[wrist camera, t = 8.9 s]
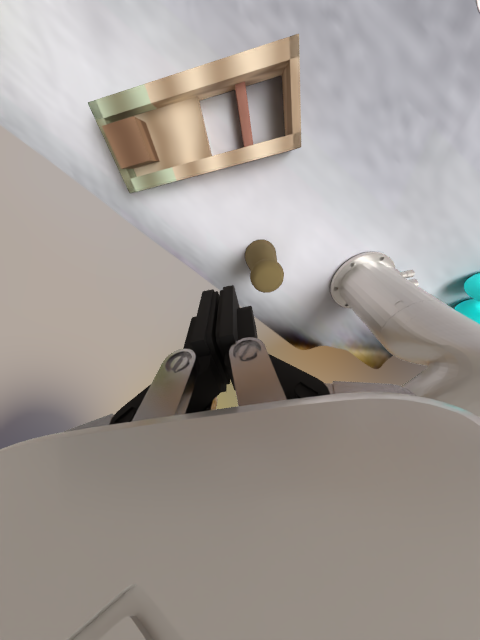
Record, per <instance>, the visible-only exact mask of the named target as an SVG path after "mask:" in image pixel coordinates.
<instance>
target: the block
mask: <svg viewBox="0 0 480 640" xmlns="http://www.w3.org/2000/svg"><path fill="white" fill-rule="evenodd" d="M102 128H103V130H104V132H105V135H106V137H107V139H108V141H109V143H110V145H111V148H112V150H113V152H114V154H115V156H116V159H117V161H118V163H119V165H120V167H121V169H134V168H138V167H141V166H145V165H149V164H152V163H156V162H159V158H158V155H157V152H156V149H155V147H154V144H153V141H152V138H151V135H150V133H149V130H148V127H147V124H146V122H144V121H142V120H140V119H138V118H137V117H135V116H132V117H129V118H126V119H122V120H119V121H116V122H113V123H109V124H106V125H103V126H102Z"/></svg>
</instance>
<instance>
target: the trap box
mask: <svg viewBox="0 0 480 640" xmlns="http://www.w3.org/2000/svg"><path fill="white" fill-rule="evenodd" d="M281 75H282V89H283V107H284V125H285V136H283V137H280V138H276V139H272V140H269V141H265V142H261V143H258V144H254V145H253V140H252V132H251V124H250V116H249V109H248V101H247V93H246V86H249V85H252V84H255V83H258V82H262V81H265V80H268V79H271V78H275V77H278V76H281ZM232 90H235V93H236V100H237V106H238V113H239V119H240V126H241V132H242V139H243V145H244V147H243V148H240V149H236V150H233V151H229V152H225V153H222V154H218V155H215V156H212V154H211V150H210V146H209V141H208V137H207V132H206V128H205V124H204V119H203V115H202V111H201V106H200V102H199V101H200V100H203V99H206V98H210V97H213V96H216V95H219V94H223V93H226V92H229V91H232ZM88 104H89V107H90V109H91V111H92V113H93V115H94V117H95V119H96V122H97V124H98V126H99V128H100V130H101V132H102V135H103V137H104V139H105V141H106V143H107V145H108V148H109V150H110V152H111V154H112V156H113V158H114V160H115V163H116V165H117V167H118V169H119V171H120V173H121V176H122V178H123V180H124V182H125V184H126V186H127V189H128V191H129V193H133V192H138V191H142V190H146V189H149V188H153V187H157V186H160V185H164V184H168V183H172V182H175V181H179V180H183V179H186V178H190V177H194V176H198V175H201V174H205V173H209V172H212V171H216V170H220V169H224V168H227V167H231V166H235V165H239V164H242V163H246V162H250V161H253V160H257V159H261V158H265V157H268V156H272V155H276V154H279V153H283V152H287V151H291V150H294V149H297V148H300V147H301V113H300V65H299V34H296V35H293V36H290V37H287V38H284V39H281V40H278V41H275V42H272V43H269V44H266V45H263V46H260V47H256V48H253V49H250V50H247V51H244V52H241V53H238V54H235V55H232V56H229V57H226V58H223V59H220V60H217V61H214V62H211V63H207V64H204V65H201V66H198V67H195V68H192V69H189V70H186V71H183V72H180V73H177V74H174V75H171V76H168V77H165V78H162V79H159V80H155V81H152V82H149V83H146V84H143V85H140V86H137V87H134V88H131V89H128V90H125V91H122V92H119V93H116V94H113V95H110V96H106V97H103V98H100V99H97V100H94V101H91V102H88ZM132 116H135V117H137V118H138V119H140V120H142V121H144V122H146V124H147V127H148V130H149V133H150V135H151V138H152V141H153V144H154V147H155V149H156V152H157V155H158V158H159V162H156V163H152V164H149V165H145V166H141V167H138V168H134V169H121V167H120V165H119V163H118V161H117V159H116V156H115V154H114V152H113V150H112V148H111V145H110V143H109V141H108V139H107V137H106V135H105V132H104V130H103V128H102V126H103V125H106V124H109V123H113V122H116V121H119V120H122V119H126V118H129V117H132Z"/></svg>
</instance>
